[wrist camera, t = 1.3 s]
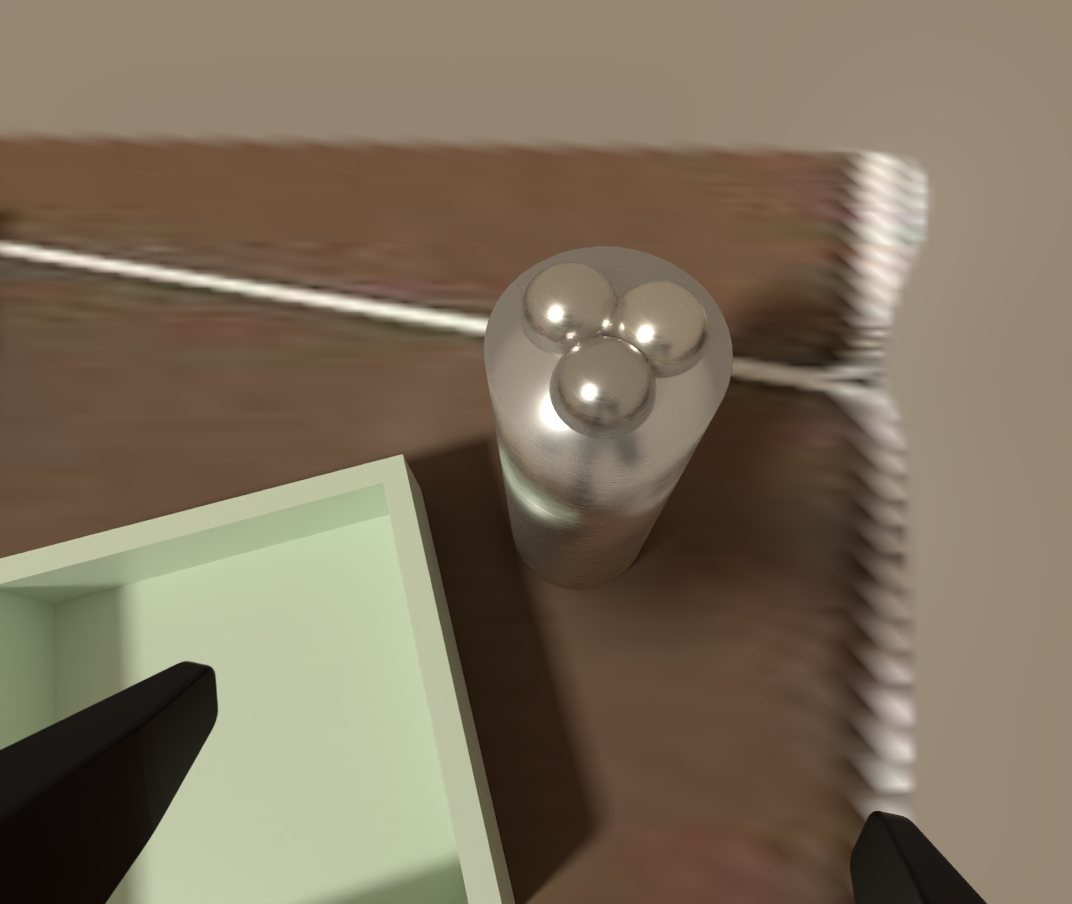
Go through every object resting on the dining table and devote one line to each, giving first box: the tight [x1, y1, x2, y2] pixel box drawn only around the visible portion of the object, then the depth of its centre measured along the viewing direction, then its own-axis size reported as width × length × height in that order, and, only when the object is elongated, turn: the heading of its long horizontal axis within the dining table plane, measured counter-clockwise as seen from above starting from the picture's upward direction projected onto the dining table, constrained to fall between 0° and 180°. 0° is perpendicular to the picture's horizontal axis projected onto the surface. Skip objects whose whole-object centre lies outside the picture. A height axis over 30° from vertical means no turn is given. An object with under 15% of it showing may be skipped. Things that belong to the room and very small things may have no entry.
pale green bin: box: [0, 454, 515, 904], centre depth 19 cm, size 14×14×4 cm
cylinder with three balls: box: [484, 246, 733, 590], centre depth 18 cm, size 5×5×13 cm
